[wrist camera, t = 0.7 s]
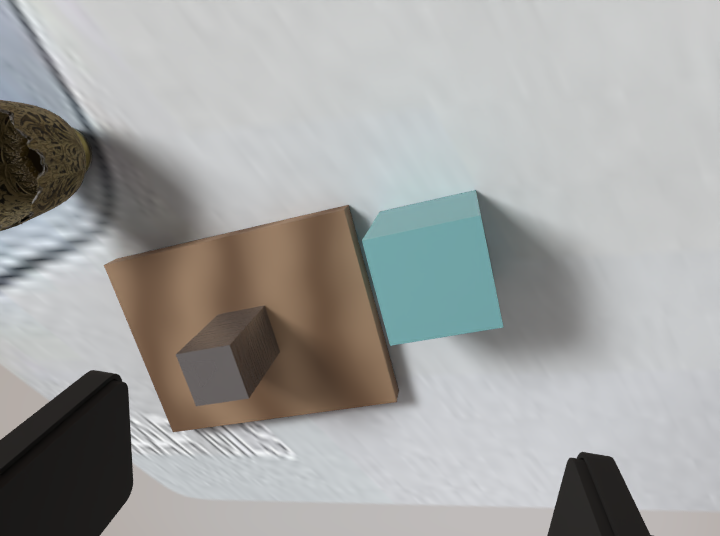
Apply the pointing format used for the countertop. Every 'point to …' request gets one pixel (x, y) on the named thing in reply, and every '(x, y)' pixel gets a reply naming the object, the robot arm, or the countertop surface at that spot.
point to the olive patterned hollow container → (37, 162)
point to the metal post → (229, 356)
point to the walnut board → (285, 311)
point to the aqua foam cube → (432, 270)
